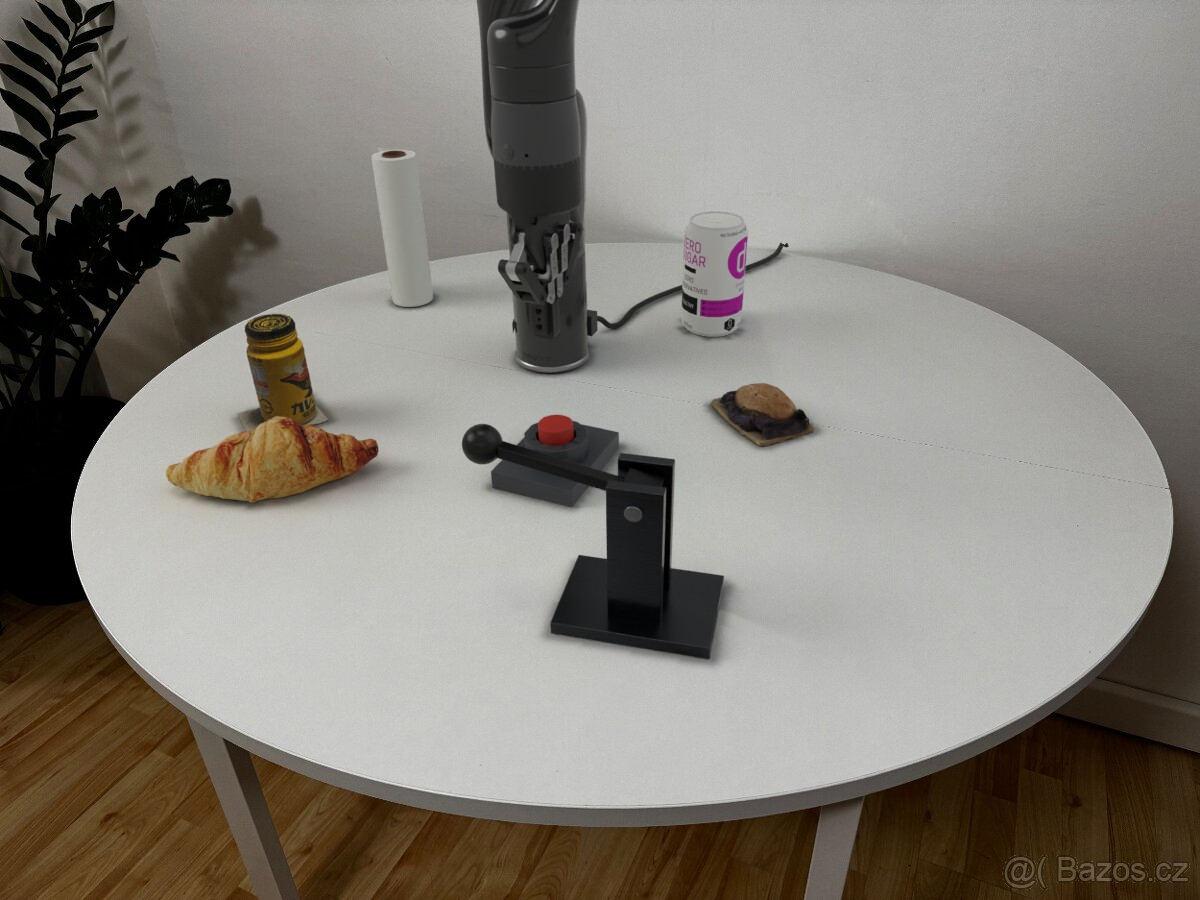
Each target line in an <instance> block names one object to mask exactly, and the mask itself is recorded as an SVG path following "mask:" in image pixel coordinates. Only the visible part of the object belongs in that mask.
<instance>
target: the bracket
mask: <svg viewBox="0 0 1200 900" xmlns="http://www.w3.org/2000/svg"><path fill="white" fill-rule="evenodd" d="M629 468H633V469H637V470H640V471H643V472H647V473H650V474H653V475H656V476H660V477H663V478H664V481H663V485H662V487H657V486H649V485H641V484H633V483H625V482H617V481H608V483H607V486H606V491H605V529H606V530H605V534H606V536H605V537H606V541H605V543H606V558H603V557H598V556H592V555H591V556H589V555H583V554H578V555H577V558H576V560H575V562H574V565H573V567H572V570H571V572H570V574H569V577H568V580H567V582H566V584H565V586H564V589H563V591H562V593H561V596H560V599H559V600H558V603H557V606H556V607H555V610H554V612H553V614H552V618H551V620H550V622H549V624H550V625H549V626H550V634H551V635H559V636H564V637H570V638H576V639H583V640H589V641H596V642H601V643H606V644H607V643H608V644H612V645H618V646H619V645H620V646H626V647H633V648H637V649H644V650H649V651H656V652H662V653H668V654H673V655H680V656H686V657H691V658H698V659H704V660H710V658H711V653H712V648H713V641H714V637H715V633H716V626H717V621H718V617H719V611H720V605H721V600H722V595H723V591H724V583H725V575H721V574H715V573H710V572H703V571H702V572H701V571H695V570H687V569H681V568H674V567H672V565H673V564H672V560H673V558H672V557H673V537H674V536H673V534H674V533H673V532H674V530H673V529H674V508H675V507H674V506H675V502H674V501H675V478H676V459H675V458H669V457H659V456H651V455H643V454H642V455H641V454H635V453H626V452H620V453H619V455H618V458H617V476H620V477H624V478H626V476H627V473H628V471H629Z"/></svg>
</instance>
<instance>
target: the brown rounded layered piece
mask: <svg viewBox="0 0 1200 900" xmlns="http://www.w3.org/2000/svg"><path fill="white" fill-rule="evenodd" d="M710 405H711V407H712V408H713V409H714V410H715V411H716V412H717V413H718V415H720V417H722V419H723V420H725V421H726V422H727V423H728V424H729V425H730V426H732V428H734V429H735V430H737V431H738V432H739V433H740V435H741V436H745V437H746V438H747V439H749V440H750V441H751V442H752V443H753V444H755V445H757V446H758V447H764V446H765V447H766V446H767V447H770V445H774V444H777V443H784V442H786V440H789V439H793V440H794V439H797V438H799V437H801V436H804V435H807V434H811V433H814V431H815V430H814V426H813V425H812V424H811V423H810V419H809V418H808V416H807V414H806V413H805V411H804V410H803V409H801V408H797V407H796V405H795V403H794V402H793V400H792V399H790V397H789V396H788V395H787V394H786V393H785V392H784V391H783V390H782V389H780V388H779V387H777V386H774V385H772V384H769V383H766V382H758V383H750V384H747V385H742V386H740V387H739V388H737V389H736V390H730V391H727V392H726V393H723V395H722V396H721V397H717V398H713V399H712V400H711V402H710Z"/></svg>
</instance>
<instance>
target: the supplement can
mask: <svg viewBox="0 0 1200 900" xmlns="http://www.w3.org/2000/svg"><path fill="white" fill-rule="evenodd" d="M683 233H684V234H683V258H682V259H683V262H682V284H681V285H682V290H681V313H680V314H681V315H680V322H681V323H682V326H683V327H685V328H686V330H687V331H689V332H690V333H692V334H695V335H697V336H701V337H709V338H714V337H715V338H717V337H725V336H728V335H731V334H733V333H734V332H735V331H736V330H737V329H738V328H740V327H741V325H742V317H743V316H742V315H743V305H744V304H743V302H744V290H745V279H746V271H745V266H747V264H746V263H747V252H748V237H749V229H748V227H747V225H746V223H745V219H744V218H743V216H742V215H739V214H737V213H735V212H729V211H720V210H713V211H712V210H710V211H702V212H698V213H694V214H693V215H691V216H690V218H689V222H688V223H687V224H686V226H685V229H684V232H683Z"/></svg>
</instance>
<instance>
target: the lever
mask: <svg viewBox="0 0 1200 900" xmlns="http://www.w3.org/2000/svg"><path fill="white" fill-rule="evenodd" d="M461 449H462V452H463V454H464V457H466V458H467V459H468V460H469V462H472V463H474V464H475V465H489V464H491V463H493V462H495V461H496V460H497V459H498V460H501V461H502V460H506V461H509V462H512V463H515V464H519V465H522V466H525V467H529V468H532V469H535V470H538V471H542V472H545V473H548V474H552V475H555V476H558V477H561V478H565V479H568V480H571V481H575V482H578V483H581V484H584V485H588V487H591V488H595V489H598V490H601V491H605V492H606V486H607V483H608V481H617V482H625V483H633V484H641V485H649V486H657V487H662V485H663V481H664V478H663V477H660V476H656V475H653V474H650V473H647V472H643V471H640V470H637V469H633V468H629V471H628V473H627V476H626V478H624V477H620V476H618V474H613V473H610V472H606V471H604V470H601V471H600V470H597V469H594V468H590V467H587V466H584V465H581V464H577V463H574V462H571V461H567V460H564V459H561V458H557V457H554V456H551V455H547V454H544V453H541V452H538V451H534V450H531V449H528V448H524V447H521V446H518V445H517V444H515V443H511V442H507V441H505V440H503V436H502V435H501V432H499V430H498V429H497V428H495V426H492V425H491V424H488V423H477V424H475V425H472V426H470V427H469V428H468V429H467V430H466V431H465V433H464V434H463V436H462V439H461Z"/></svg>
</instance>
